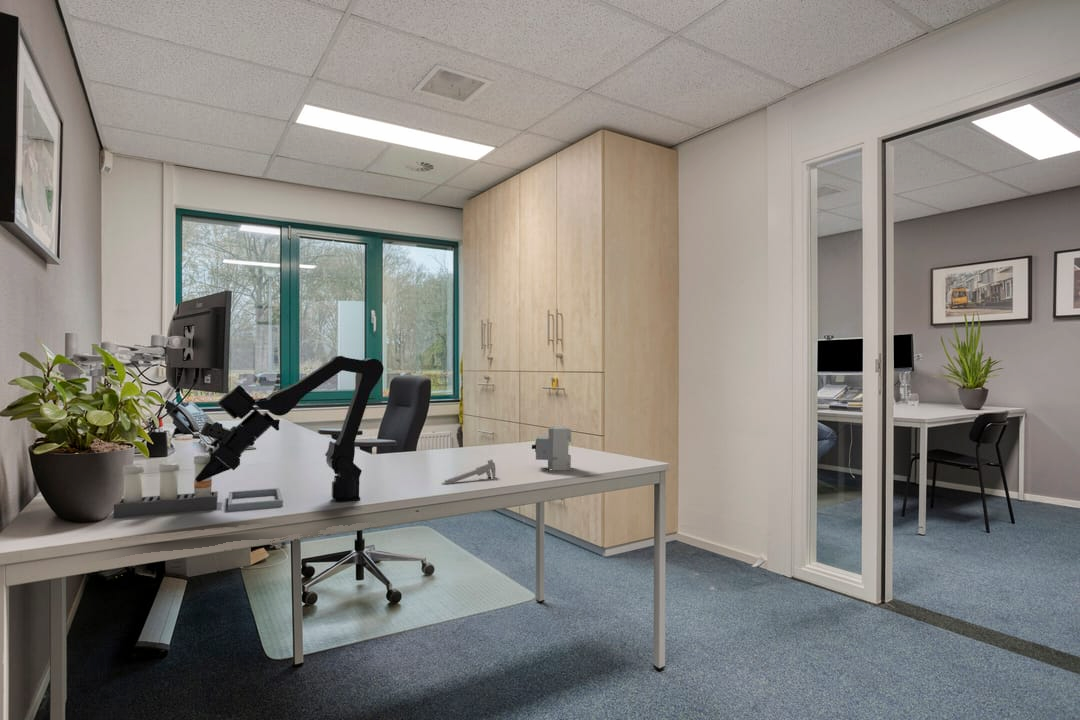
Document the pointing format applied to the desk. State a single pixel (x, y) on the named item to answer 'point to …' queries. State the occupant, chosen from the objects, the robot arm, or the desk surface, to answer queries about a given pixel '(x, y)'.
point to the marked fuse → (203, 486)
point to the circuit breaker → (554, 448)
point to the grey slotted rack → (165, 506)
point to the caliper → (475, 472)
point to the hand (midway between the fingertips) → (196, 479)
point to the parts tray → (255, 504)
